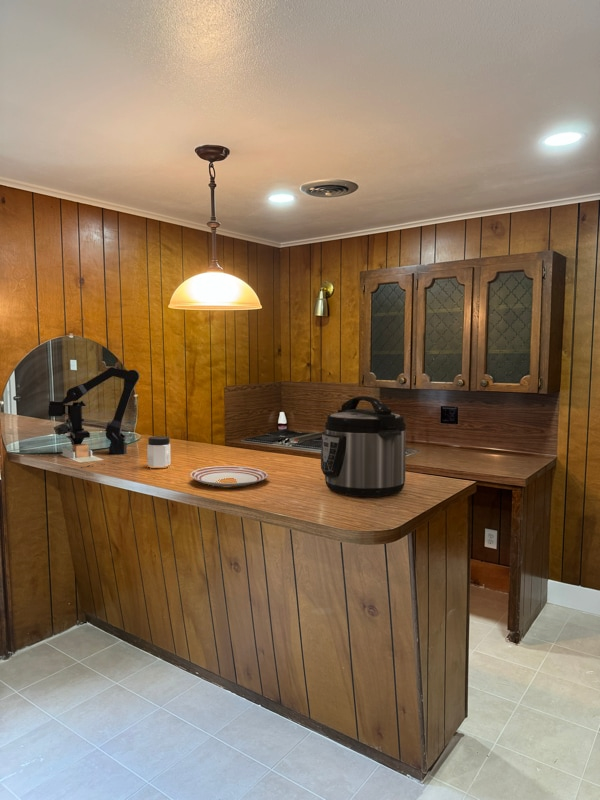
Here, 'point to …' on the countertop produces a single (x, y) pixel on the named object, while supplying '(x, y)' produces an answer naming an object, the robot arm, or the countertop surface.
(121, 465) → the countertop surface
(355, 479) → the pressure cooker
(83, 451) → the block
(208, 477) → the dinner plate
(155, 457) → the jar
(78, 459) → the channel
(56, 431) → the robot arm
